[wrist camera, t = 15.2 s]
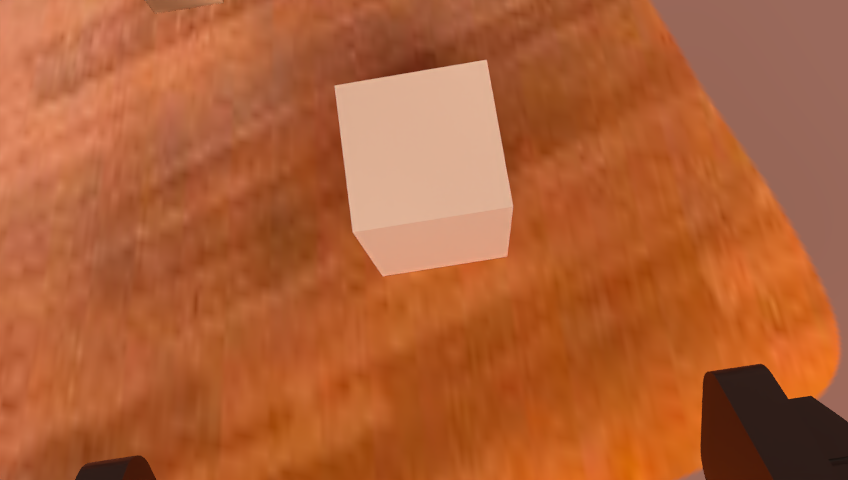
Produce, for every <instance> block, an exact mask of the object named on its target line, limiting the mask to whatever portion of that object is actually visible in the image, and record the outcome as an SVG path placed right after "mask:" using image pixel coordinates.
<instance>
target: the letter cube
mask: <svg viewBox="0 0 848 480" xmlns="http://www.w3.org/2000/svg"><path fill="white" fill-rule="evenodd" d="M145 2H146V3H147V4H148V5H149V7H150V8H151V9H152V10H153V12H154V13H155V14H157V13H163V12H169V11H176V10H182V9H189V8H195V7H201V6H208V5H214V4H220V3H224V1H223V0H145Z"/></svg>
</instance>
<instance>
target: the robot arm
mask: <svg viewBox="0 0 848 480" xmlns="http://www.w3.org/2000/svg"><path fill="white" fill-rule="evenodd" d="M701 459H702V465H703V470H704V474H705V478H706V480H848V422H847V421H846V420H844V419H843V418H842V417H840V416H839V415H837V414H836V413H835V412H833V411H832V410H830V409H829V408H828V407H826V406H825V405H823V404H822V403H820V402H819V401H818V400H816V399H815V398H813V397H812V396H807V397H800V398H794V399H788V398H787V396H786V395H785V393H784V392H783V390H782V389H781V387H780V386H779V384H778V383H777V381H776V380H775V378H774V377H773V375H772V374H771V372H770V371H769V370H768V368H767V367H766V366H764V365H762V364H756V365H750V366H743V367H737V368H730V369H723V370H717V371H710V372H707V373H706V374H705V376H704V380H703V398H702V424H701ZM75 480H156V478H155V476H154V474H153V472H152V470H151V468H150V466H149V464H148V462H147V461H146V460H145V458H143V457H142V456H131V457H125V458H118V459H111V460H105V461H98V462H91V463H87V464H85V465H84V466H83V467H82V468H81V469H80V471H79V473H78V475H77V477H76V479H75Z"/></svg>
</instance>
